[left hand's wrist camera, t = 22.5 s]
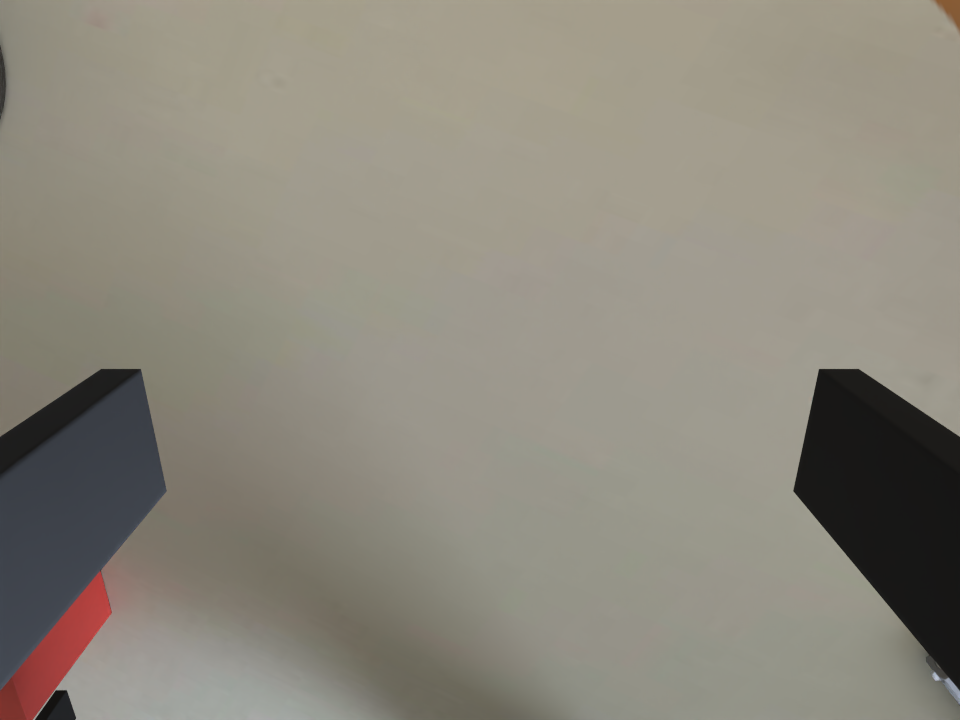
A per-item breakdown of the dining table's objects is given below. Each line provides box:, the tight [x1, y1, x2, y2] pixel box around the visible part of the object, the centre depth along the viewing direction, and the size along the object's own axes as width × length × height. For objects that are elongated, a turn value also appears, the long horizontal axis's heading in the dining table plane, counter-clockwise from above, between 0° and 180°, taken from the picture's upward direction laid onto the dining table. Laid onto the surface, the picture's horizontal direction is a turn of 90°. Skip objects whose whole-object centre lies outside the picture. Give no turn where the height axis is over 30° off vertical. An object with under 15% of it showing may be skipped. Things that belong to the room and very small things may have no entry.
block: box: [0, 571, 112, 720], centre depth 50 cm, size 6×5×11 cm
